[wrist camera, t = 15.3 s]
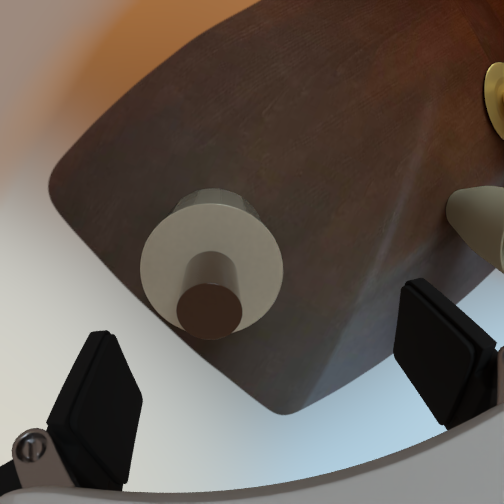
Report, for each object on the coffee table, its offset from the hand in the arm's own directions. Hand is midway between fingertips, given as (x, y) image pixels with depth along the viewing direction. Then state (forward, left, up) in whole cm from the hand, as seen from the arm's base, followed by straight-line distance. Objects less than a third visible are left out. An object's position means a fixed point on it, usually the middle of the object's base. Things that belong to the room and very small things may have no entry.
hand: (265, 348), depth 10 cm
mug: (+27, +11, -24) cm, 38 cm away
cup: (+29, +29, -24) cm, 47 cm away
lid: (-1, -4, -15) cm, 15 cm away
